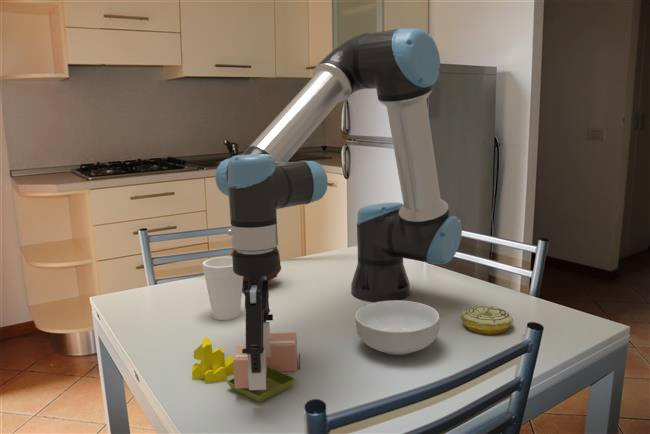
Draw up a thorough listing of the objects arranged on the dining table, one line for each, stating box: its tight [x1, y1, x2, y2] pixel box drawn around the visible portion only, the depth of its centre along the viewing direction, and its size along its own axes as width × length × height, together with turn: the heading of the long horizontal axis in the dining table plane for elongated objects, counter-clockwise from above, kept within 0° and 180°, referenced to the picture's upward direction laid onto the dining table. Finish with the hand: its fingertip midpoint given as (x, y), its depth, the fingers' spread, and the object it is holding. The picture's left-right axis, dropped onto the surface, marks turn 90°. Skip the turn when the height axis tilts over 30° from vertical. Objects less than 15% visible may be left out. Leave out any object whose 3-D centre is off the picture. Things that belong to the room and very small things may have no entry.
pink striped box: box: [251, 332, 301, 372], centre depth 108 cm, size 10×6×5 cm, turn 92°
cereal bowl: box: [354, 299, 441, 356], centre depth 114 cm, size 17×17×7 cm
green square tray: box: [226, 366, 296, 403], centre depth 99 cm, size 9×9×2 cm
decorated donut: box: [461, 305, 514, 336], centre depth 124 cm, size 10×11×4 cm
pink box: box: [233, 345, 267, 389], centre depth 98 cm, size 5×6×5 cm
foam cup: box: [202, 256, 244, 321], centre depth 133 cm, size 10×9×13 cm
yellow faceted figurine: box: [191, 335, 234, 384], centre depth 104 cm, size 6×8×8 cm
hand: (260, 372), depth 98 cm, fingers open, 12 cm apart
